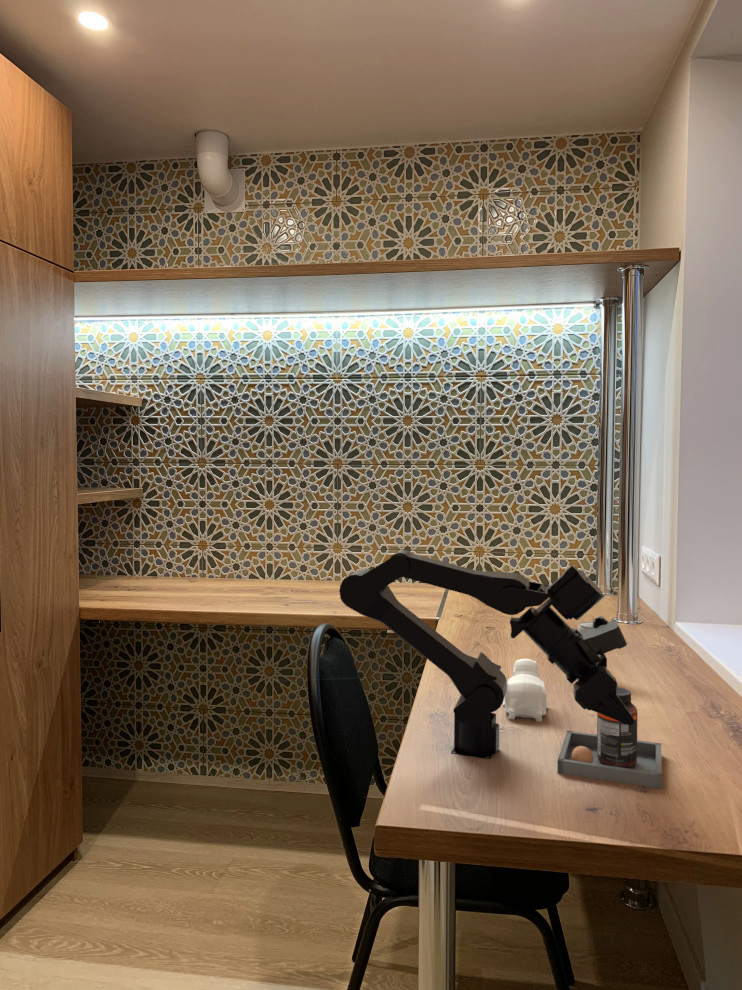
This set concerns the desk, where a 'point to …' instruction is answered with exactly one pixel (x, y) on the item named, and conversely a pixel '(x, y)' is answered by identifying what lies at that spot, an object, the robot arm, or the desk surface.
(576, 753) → the ball
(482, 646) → the desk surface
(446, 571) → the robot arm
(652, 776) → the tray
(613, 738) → the supplement bottle
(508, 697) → the white low-poly figurine
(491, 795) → the desk surface
